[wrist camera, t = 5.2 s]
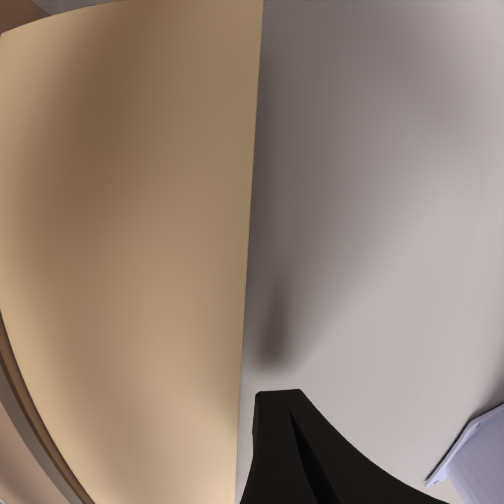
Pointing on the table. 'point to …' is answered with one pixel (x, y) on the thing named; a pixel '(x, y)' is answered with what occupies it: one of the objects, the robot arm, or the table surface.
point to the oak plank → (131, 237)
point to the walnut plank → (18, 397)
